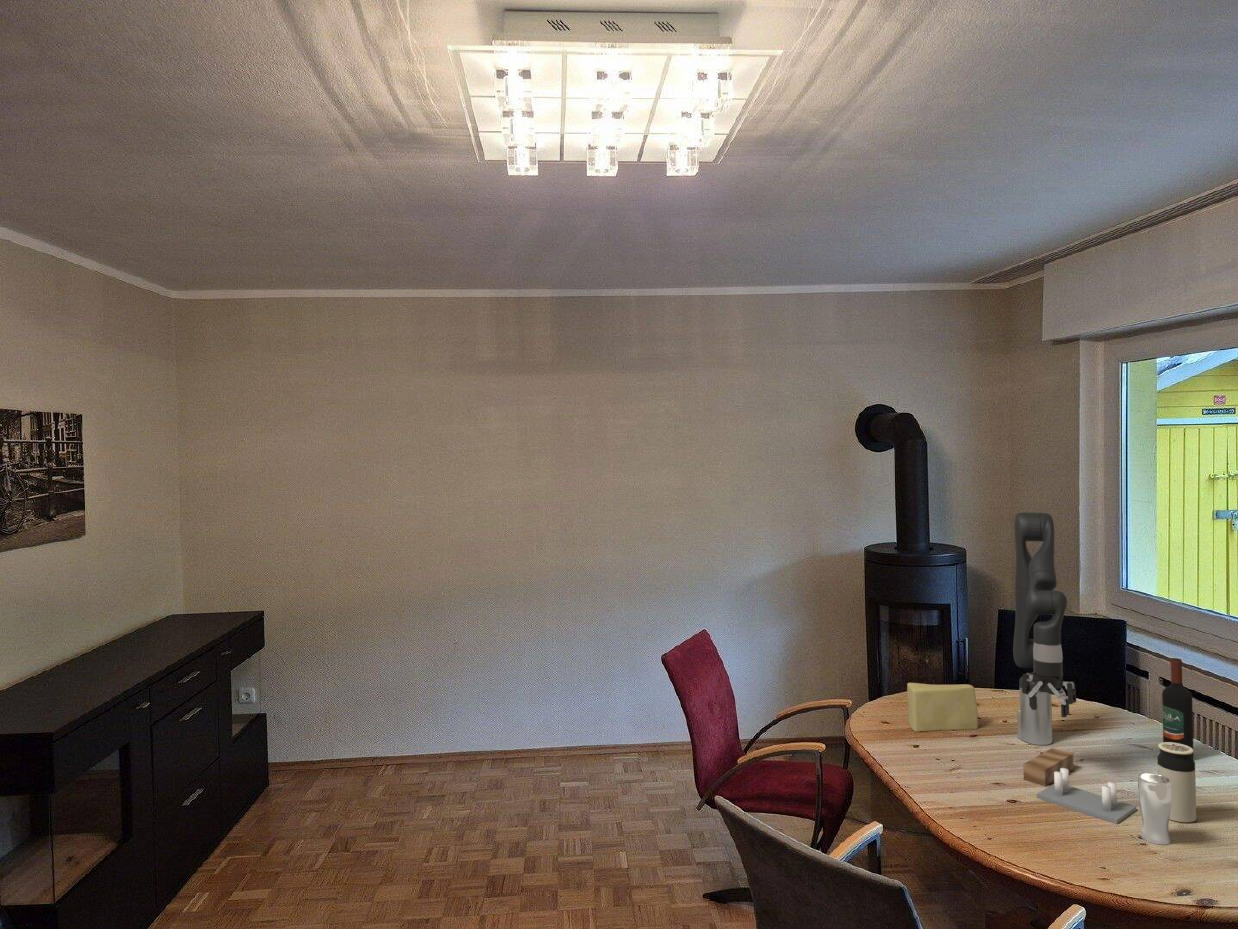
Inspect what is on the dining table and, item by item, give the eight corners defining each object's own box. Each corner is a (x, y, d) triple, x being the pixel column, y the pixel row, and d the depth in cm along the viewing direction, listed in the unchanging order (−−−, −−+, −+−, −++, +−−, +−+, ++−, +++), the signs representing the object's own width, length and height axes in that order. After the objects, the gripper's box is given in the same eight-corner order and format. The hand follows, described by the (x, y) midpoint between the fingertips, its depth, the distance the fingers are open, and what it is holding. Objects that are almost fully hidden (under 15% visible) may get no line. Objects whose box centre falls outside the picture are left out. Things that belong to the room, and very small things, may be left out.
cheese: (973, 723, 273) (971, 681, 273) (982, 734, 264) (981, 689, 263) (907, 723, 276) (906, 680, 276) (913, 733, 267) (912, 689, 266)
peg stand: (1036, 797, 215) (1035, 772, 215) (1057, 785, 222) (1056, 761, 222) (1116, 824, 199) (1116, 797, 199) (1136, 810, 206) (1135, 783, 206)
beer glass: (1131, 833, 194) (1130, 773, 194) (1157, 831, 195) (1156, 771, 195) (1153, 847, 188) (1151, 785, 187) (1180, 844, 188) (1179, 783, 188)
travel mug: (1197, 826, 197) (1196, 755, 196) (1159, 819, 201) (1157, 749, 201) (1194, 813, 203) (1193, 744, 203) (1157, 807, 208) (1156, 739, 207)
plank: (1045, 787, 222) (1044, 770, 222) (1023, 781, 227) (1023, 763, 227) (1073, 770, 233) (1073, 753, 233) (1052, 764, 238) (1052, 748, 238)
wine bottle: (1198, 762, 235) (1196, 663, 235) (1170, 761, 237) (1168, 662, 236) (1186, 752, 242) (1183, 656, 242) (1158, 751, 244) (1156, 655, 244)
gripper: (1016, 656, 233) (1018, 710, 233) (1067, 665, 221) (1069, 722, 222) (1029, 651, 237) (1030, 704, 237) (1079, 660, 226) (1080, 716, 226)
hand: (1049, 713), depth 229 cm, fingers open, 8 cm apart
